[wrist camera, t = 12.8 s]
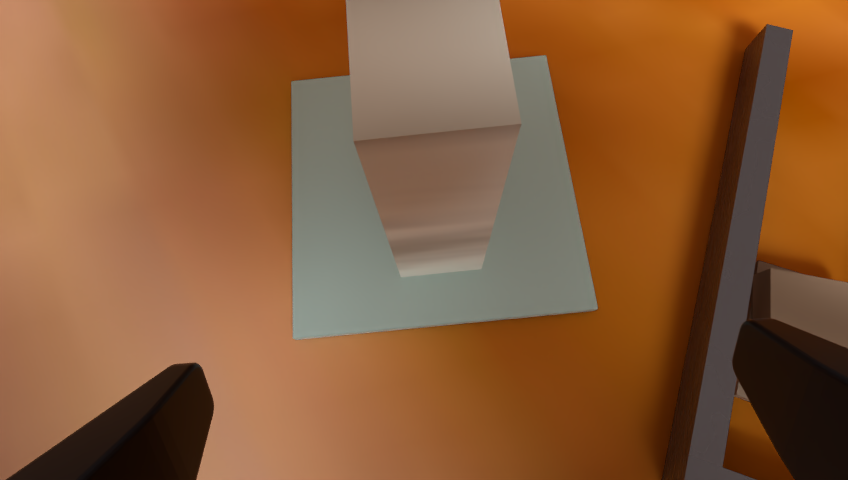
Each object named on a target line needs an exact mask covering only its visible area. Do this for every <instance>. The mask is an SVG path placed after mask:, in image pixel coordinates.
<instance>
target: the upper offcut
mask: <svg viewBox="0 0 848 480" xmlns="http://www.w3.org/2000/svg"><path fill="white" fill-rule="evenodd" d="M761 318H773V319H776V320H779V321H781V322H784V323H786V324H789V325H791V326H794V327H796V328H799V329H801V330H803V331H806V332H808V333H811V334H813V335H816V336H818V337H821V338H823V339H826V340H828V341H831V342H833V343H836V344H838V345H841V346H843V347H846V348H848V283H847V282H842V281H837V280H831V279H826V278H821V277H815V276H810V275H805V274H799V273H794V272H789V271H783V270H778V269H773V268H770V269H767V270H765V271H762V272H760V273H757V274H755V275H753V315H752V319H761Z"/></svg>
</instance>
